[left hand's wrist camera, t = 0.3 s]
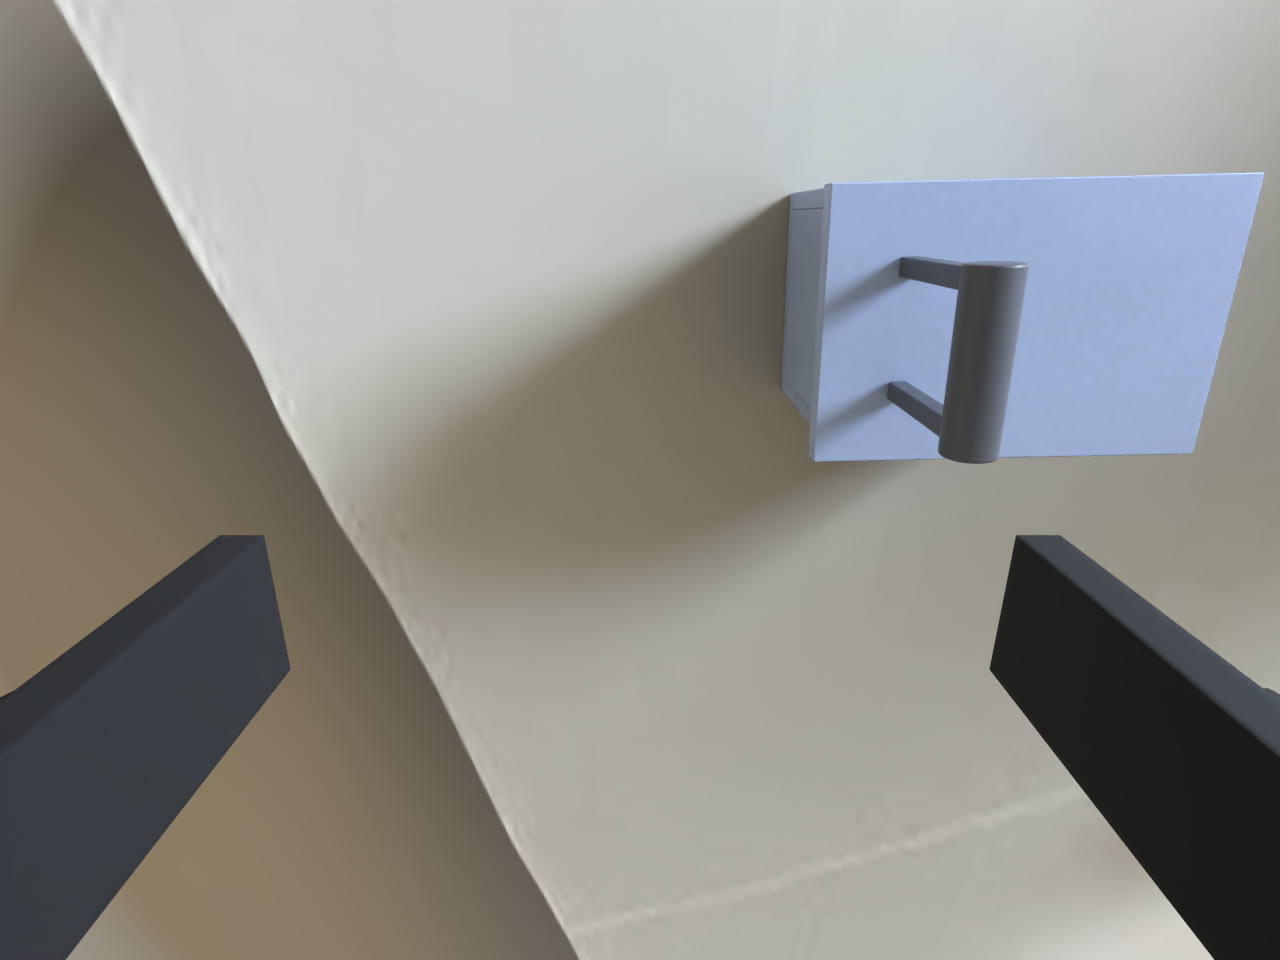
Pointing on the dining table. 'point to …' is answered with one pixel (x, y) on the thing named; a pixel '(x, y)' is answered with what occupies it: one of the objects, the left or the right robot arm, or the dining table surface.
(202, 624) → the left robot arm
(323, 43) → the dining table surface
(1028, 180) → the lid
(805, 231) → the chest
